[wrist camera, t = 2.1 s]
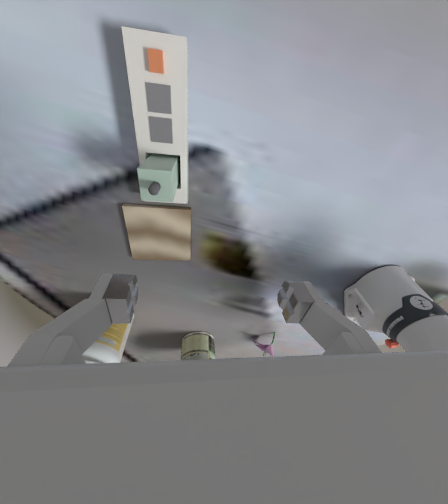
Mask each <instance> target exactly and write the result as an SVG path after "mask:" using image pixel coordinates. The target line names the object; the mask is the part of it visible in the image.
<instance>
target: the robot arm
mask: <svg viewBox="0 0 448 504" xmlns="http://www.w3.org/2000/svg"><path fill="white" fill-rule="evenodd" d="M414 281H415V279H414V278H413V277H412V276H410V275H408V274H407V273H406V271H405V270H404V269H403V268H402V267H399V266H385V267H381V268H378V269H376V270H373V271H371V272H369V273H368V274H366V275H365V276H363V277H362V278H361V279H360V280H358V281H357V282H356V283H355V284H354V285H352V286H350V287H348V288H347V289H345V291H344V312H345V316H344V315H343V314H341V313H340V312H338V311H337V310H336V309H334V308H333V307H331V306H330V305H329V304H327V303H324V302H323V300H322V299H321V297H320V296H319V294H318V293H317V291H316V289H315V288H314V286H313V285H312V283H311V282H309V281H284V282H283V284H282V287H283V289H281V290H280V291H279V293H278V299H277V300H278V304H279V307H281V308H282V309H283V312H282V314H283V316H284V319H285V321H286V323H300V325H301V326H302V327H303V328H304V329H305V330H306V331H307V332H308V333H309V334H310V335H311V336H312V337H313V338H314V339H315V340H316V341H317V342H318V343H319V344H320V345H321V346H322V347H323V348H324V349H325V350H326V351H325V352H324V353H323V354H322V355H310V356H283V357H256V358H229V359H202V360H175V361H147V362H120V363H93V364H86V362H85V360H84V358H83V356H82V354H83V353H84V352H85V351H86V350H87V349H88V348H89V347H90V346H91V345H92V344H93V343H94V342H95V341H96V340H97V339H98V338H99V337H100V336H101V335H102V334H103V333H104V332H105V331H106V330H107V329H108V328H109V327H110V326H111V325H112V324H129V323H131V320H132V317H133V314H134V309H133V307H134V306H135V305H136V303H137V299H138V287H137V286H136V282H137V277H136V275H124V274H105V273H103V274H102V275H101V276H100V278H99V280H98V282H97V284H96V286H95V288H94V289H93V291H92V293H91V295H90V297H89V299H84V300H82V301H81V302H79V303H78V304H76V305H75V306H73V307H72V308H70V309H69V310H67V311H66V312H64V313H62V314H61V315H59V316H58V317H56V318H55V319H53V320H52V321H50V322H49V323H47V324H46V325H44V326H43V327H41V328H39V329H38V330H36V331H35V332H33V333H32V334H30V335H29V336H28V338H27V339H26V341H25V342H24V343H23V345H22V346H21V348H20V349H19V351H18V352H17V353H16V355H15V356H14V358H13V359H12V361H11V362H10V363H9V365H8V366H7V367H0V504H448V313H447V312H446V311H445V310H444V309H442V308H441V307H440V306H439V305H438V304H437V303H435V302H433V300H432V299H431V298H430V297H429V296H428V295H427V294H426V293H425V292H424V291H423V290H422V289H421V288H420V287H419V286H418V285H417V284H416V283H415V282H414ZM353 321H357V322H358V323H359V324H360V326H361V327H362V328H361V327H360V326H358V325H357V324H355V323H354V322H353ZM364 329H365V330H367V331H373V332H381V333H384V334H386V335H387V336H388V337H389V338H391V339H387V340H385V343H386V345H387V346H388V347H390V348H393V347H398V344H400V346H401V347H402V348H403V349H404V350H405V352H392V353H382V352H381V351H380V349H379V348H378V346H377V345H376V344H375V342H374V341H373V340H372V338H371V337H370V336H369V334H368V333H367V331H365V330H364Z"/></svg>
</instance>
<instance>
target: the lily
mask: <svg viewBox="0 0 448 504" xmlns="http://www.w3.org/2000/svg"><path fill="white" fill-rule="evenodd" d="M274 336H275V332H274ZM274 336H273V341H274ZM254 341H255V340H254ZM273 341H272V343H273ZM255 342H256V341H255ZM256 343H257V342H256ZM272 343H271V344H270V345H262V344H259V343H257V344H259V345H256V346H257V347H258V348H260V349H261V350H262V351H264V353H265V352H266V353H269V354H270V355H271V356H273V357H275V356H274V352H273V348H272ZM266 353H265V354H266ZM265 354H263V355H265Z"/></svg>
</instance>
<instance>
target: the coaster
mask: <svg viewBox="0 0 448 504" xmlns="http://www.w3.org/2000/svg"><path fill="white" fill-rule="evenodd" d="M122 208H123V213H124V218H125V223H126V228H127V233H128V238H129V243H130V248H131V253H132V258H133V259H134V260H176V261H190V258H191V208H187V207H170V206H153V205H135V204H123V205H122Z"/></svg>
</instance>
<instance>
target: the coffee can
mask: <svg viewBox="0 0 448 504" xmlns="http://www.w3.org/2000/svg"><path fill="white" fill-rule="evenodd" d="M202 359H215V351H214V337H213V336H212V335H211V334H209V333H207V332H202V331H197V332H192V333H189V334H187V335H186V336H184V338H183V339H182V351H181V360H202Z"/></svg>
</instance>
